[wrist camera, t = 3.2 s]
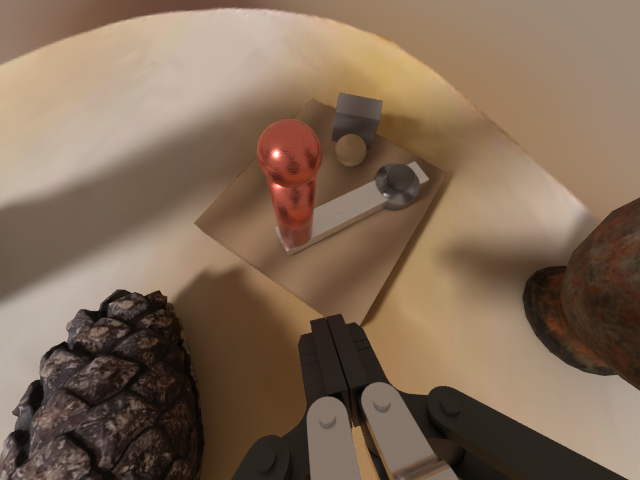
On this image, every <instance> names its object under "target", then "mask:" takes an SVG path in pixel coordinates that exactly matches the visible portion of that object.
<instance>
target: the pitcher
mask: <svg viewBox="0 0 640 480" xmlns="http://www.w3.org/2000/svg"><path fill="white" fill-rule="evenodd" d="M523 302H524V308H525V313H526V317H527V319H528V321H529V323H530V325H531V327H532V329H533V331H534V332H535V334H536V336H537V337H538V338H539V339H540V340H541V342H542V343H543V344H544V345H545V346H546V347H547V348H548V350H549V351H550V352H551V353H553V354H554V355H556V356H557V357H558V358H560V359H561V360H562V361H564V362H565V363H566V364H568V365H570V366H573V367H575V368H577V369H579V370H581V371H583V372H587V373H592V374H597V375H603V376H607V375H619V376H620V377H621V378H622V379H624V380H625V381H627V382H628V383H630V384H631V385H632V386H634V387H635V388H637V389H638V390H640V198H638V199H636V200H634V201H632V202H630V203H628V204H626V205H624V206H622V207H620V208H618V209H616V210H614V211H612V212H611V213H610V214H609V215H608V216H607V217H606V218H605V219H604V220H603V221H602V222H601V223H600V224H599V225H598V227H597V228H596V229H595V230H594V231H593V232H592V233H591V234H590V235H589V236H588V237H587V238H586V239H585V240H584V241H583V242H582V243H581V244H580V245H579V246H578V248H577V249H576V250H575V251H574V252H573V253H572V256H571V258H570V261H569V263H568V266H567V267H566V266H556V267H547V268H544V269H542V270H539V271H536V272H535V273H534V275H533V276H532V277H531V278H530V279H529V280H528V281H527V283H526V287H525V290H524V294H523Z"/></svg>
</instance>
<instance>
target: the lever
mask: <svg viewBox="0 0 640 480" xmlns="http://www.w3.org/2000/svg"><path fill="white" fill-rule="evenodd" d="M257 160H258V164H259V166H260V168H261V170H262V172H263V173H264V175H265V176H266V179H267V183H268V187H269V191H270V195H271V199H272V203H273V207H274V211H275V216H276V220H277V224H278V226H277V227H275V231H276V235H277V237H278V239H279V240H280V242H281V244H282V246H283V248H284V250H285V252H286V254H287V255H288V257H289V256H291V255H293V254H295V253H297V252H299V251H300V250H302V249H304V248H306V247H308V246H310V245H312V244H314V243H316V242H318V241H320V240H322V239H324V238H326V237H328V236H330V235H332V234H334V233H336V232H338V231H340V230H342V229H344V228H346V227H348V226H350V225H352V224H354V223H356V222H358V221H360V220H362V219H364V218H365V217H367V216H369V215H371V214H373V213H375V212H377V211H379V210H381V209H383V208H384V209H386V210H390V211H398V210H402V209H404V208H406V207H407V206H408V205H409V204H410V203H411V202H412V200H413V199H414V198H415V197H416V196H417V194H418V192H419V190H421V189H422V188H423V187H424V185H425V184H426V183H427V182H428V180H429V178H428V177H427V176H426V175H425V173H424V172H423V171H422V169H421V168H420V167H419V166H418V164H417V163H416V162H415V161H414V162H412V163H410V164H408V165H407V166H409V167H410V168H411V169H412V170H413V171H414V174H415V180H414V182H413V183H412V184H411V186H410V187H409V188H408V189H406V190H403V191H398V190H395V189H393V188H392V187H390V185H389V184H388V182H387V175H388V173H389V171H390V169H391V168H392V167H393V166H394V165H396V164H400V163H389V164H386V165H384V166H382V167H381V168H380V169H379V170H378V171H377V173H376V176H375V178H374V180H373V181H372V182H370V183H368V184H366V185H363V186H361V187H359V188H357V189H355V190H353V191H351V192H349V193H347V194H345V195H342V196H340V197H338V198H336V199H334V200H332V201H330V202H328V203H326V204H323V205H321V206H319V207H317V208H315V209H314V204H315V192H316V179H317V173H318V171H319V169H320V166H321V163H322V147H321V143H320V141H319V138H318V136H317V135H316V133H315V132H314V131H313V130H312V129H311V128H310V127H309V126H308V125H306V124H305V123H303V122H301V121H298V120H294V119H282V120H278V121H276V122H274V123H272V124H270V125H269V126H268V127H267V128H266V129H265V130H264V131H263V133H262V134H261V136H260V138H259V141H258V144H257Z"/></svg>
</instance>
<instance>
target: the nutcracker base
mask: <svg viewBox="0 0 640 480" xmlns="http://www.w3.org/2000/svg"><path fill="white" fill-rule="evenodd" d="M382 102H383V101H381V100H376V99H371V98H365V97H360V96H355V95H350V94H345V93H340V94H339V98H338V103H337V107H336V111H334V110H333V109H331V108H329V107H327V106H325V105H324V104H322V103H320V102H318V101H316V100H315V99H313V98H312V99H311V100H310V101H309V102H308V103H307V104H306V106H305V107H304V108H303V109H302V110H301V111H300V112H299V113H298V114H297V115H296V116H295V117H294V118H293V119H294V120H298V121H301V122H303V123H305V124H306V125H308V126H309V127H310V128H311V129H312V130H313V131H314V132H315V133H316V135H317V136H318V138H319V141H320V143H321V147H322V163H321V166H320V169H319V171H318V173H317V179H316V192H315V204H314V209H315V208H317V207H319V206H321V205H323V204H326V203H328V202H330V201H332V200H334V199H336V198H338V197H340V196H342V195H345V194H347V193H349V192H351V191H353V190H355V189H357V188H359V187H361V186H363V185H366V184H368V183H370V182H372V181H373V180H374V178H375V176H376V173H377V171H378V170H379V169H380V168H381V167H382V166H384V165H386V164H389V163H400V164H396V165H394V166H393V167H392V168H391V169H390V171H389V173H388V175H387V182H388V184H389V185H390V187H392V188H393V189H395V190H398V191H403V190H406V189H408V188H409V187H410V186H411V184H412V183H413V182H414V180H415V174H414V171H413V170H412V169H411V168H410V167H409V166H407V165H408V164H410V163H412V162H414V161H415V162H416V163H417V164H418V166H419V167H420V168H421V169H422V171H423V172H424V173H425V175H426V176H427V177H428V178H429V180H428V182H427V183H426V184H425V185H424V187H423V188H422V189H421V190H419V192H418V194H417V196H416V197H415V198H414V199H413V200H412V202H411V203H410V204H409V205H408V206H407V207H406V208H404V209H402V210H398V211H390V210H386V209H384V208H383V209H381V210H379V211H377V212H375V213H373V214H371V215H369V216H367V217H365V218H364V219H362V220H360V221H358V222H356V223H354V224H352V225H350V226H348V227H346V228H344V229H342V230H340V231H338V232H336V233H334V234H332V235H330V236H328V237H326V238H324V239H322V240H320V241H318V242H316V243H314V244H312V245H310V246H308V247H306V248H304V249H302V250H300V251H299V252H297V253H295V254H293V255H291V256H289V257H288V255H287V254H286V252H285V250H284V248H283V246H282V244H281V242H280V240H279V239H278V237H277V235H276V231H275V227H277V226H278V224H277V220H276V216H275V211H274V207H273V203H272V199H271V195H270V191H269V187H268V183H267V179H266V176H265V175H264V173H263V172H262V170H261V168H260V166H259V164H258V160H257V157H256V158H255V159H254V160H253V161H252V162H251V163H250V165H249V166H248V167H247V168H246V169H245V170H244V171H243V172H242V173H241V174H240V175H239V176H238V177H237V178H236V179H235V180H234V181H233V182H232V184H231V185H230V186H229V187H228V188H227V189H226V190H225V191H224V192H223V193H222V194H221V195H220V196H219V197H218V198H217V199H216V200H215V201H214V202H213V204H212V205H211V206H210V207H209V208H208V209H207V210H206V211H205V212H204V213H203V214H202V215H201V216H200V217H199V218H198V219H197V220H196V221H195V222H194V224H195V225H196V226H197V227H199V228H200V229H201V230H202V231H203V232H204V233H206V234H207V235H209V236H210V237H211V238H213V239H214V240H216V241H217V242H219V243H220V244H221V245H223V246H224V247H226V248H227V249H229V250H230V251H231V252H233V253H234V254H236V255H237V256H239V257H240V258H241V259H243V260H244V261H246V262H247V263H249V264H250V265H251V266H253V267H254V268H256V269H257V270H259V271H260V272H261V273H263V274H264V275H266V276H267V277H269V278H270V279H271V280H273V281H274V282H276V283H277V284H279V285H280V286H281V287H283V288H284V289H286V290H287V291H289V292H290V293H291V294H293V295H294V296H296V297H297V298H299V299H300V300H301V301H303V302H304V303H306V304H307V305H309V306H310V307H311V308H313V309H314V310H316V311H317V312H319V313H320V314H321V315H323V316H324V317H328V316H332V315H336V314H340V313H341V314H342V316H343V318H344V321H345V323H346V324H348V323H353V322H355V323H357V324H358V325H359V326H360V324H361V323H362V321H363V319H364V317H365V316H366V314H367V312H368V311H369V309H370V307H371V305H372V304H373V302H374V300H375V298H376V297H377V295H378V293H379V291H380V290H381V288H382V286H383V284H384V283H385V281H386V279H387V278H388V276H389V274H390V272H391V271H392V269H393V267H394V265H395V264H396V262H397V260H398V258H399V257H400V255H401V253H402V252H403V250H404V248H405V246H406V245H407V243H408V241H409V239H410V238H411V236H412V234H413V232H414V231H415V229H416V227H417V225H418V224H419V222H420V220H421V219H422V217H423V215H424V213H425V212H426V210H427V208H428V206H429V205H430V203H431V201H432V199H433V198H434V196H435V194H436V193H437V191H438V189H439V187H440V186H441V184H442V182H443V180H444V179H445V177H446V175H447V173H446V172H444V171H442V170H440V169H439V168H437V167H435V166H433V165H431V164H430V163H428V162H426V161H424V160H422V159H421V158H419V157H417V156H415V155H413V154H412V153H410V152H408V151H406V150H404V149H403V148H401V147H399V146H397V145H396V144H394V143H392V142H390V141H388V140H387V139H385V138H383V137H381V136H379V135H378V134H376V130H377V127H378V124H379V122H380V116H381V109H382Z"/></svg>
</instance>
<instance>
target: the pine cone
mask: <svg viewBox="0 0 640 480" xmlns="http://www.w3.org/2000/svg"><path fill="white" fill-rule="evenodd" d="M170 310H172V311H173V310H174V307H173V305H172V304H171V303H167V296H163V295H162V294H161V292H160V290H159V291H155V292H153V293H150V294H148V295H146V296H143V295H142V294H139V293H136V292H134V293H130V292H128V291H126V290H116V291H115V292H114V293H113V294H112V295H110V296H109V297H108V298H106V299H105V300H104V301H103V302H102V303H101V304H100V309H99V311H89V310H86V309H81V310H80V311H79V312H78V313H77V314H76V316H75V318H74V319H73V320H71V321H70V322H69V323H68V324H67V325H66V330H67V331H68V332H69V337H68V340H67V342H68V343H67V342H65V341H64V342H62V343H61V344H59V345H57V346H54V347H52V348H51V349H50V350H49V351H48V352H46V353H45V355H44V356H43V357H42V359H41V363H40V380H35V381H34V382H32V383H31V384H30V385H29V387H28V389H27V391H26V393H25V394H24V396H23V397H22V399H21V400H20V402H19V405H18V406H17V407H16V408H15V409H14V410H13V411H12V413H13V415H15V416H18V419H17V422H16V425H15V431H14V432H12V433H10V435H9V436H8V437H7V439H6V440H5V441H4V448H3V451H2V453H1V455H0V480H199V479H200V472H201V464H202V456H203V450H204V436H203V425H202V420H201V406H200V397H199V388H198V382H197V379H196V375H195V372H194V368H193V364H192V360H191V356H190V352H189V348H188V344H187V340H186V337H185V334H184V330H183V325H182V321H181V317H180V316H179V315H178V314H177V313H175V312H171V311H170ZM185 343H186V344H185ZM184 345H185V347H184Z"/></svg>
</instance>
